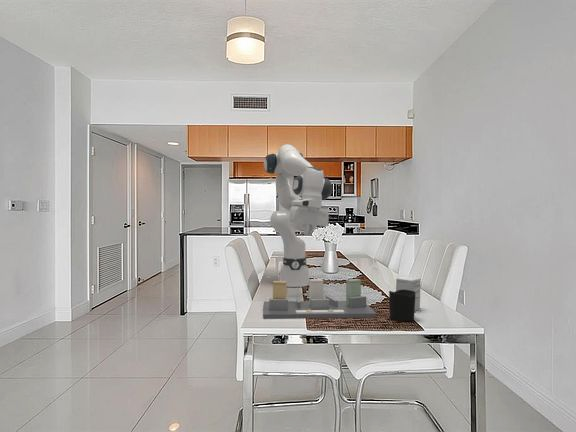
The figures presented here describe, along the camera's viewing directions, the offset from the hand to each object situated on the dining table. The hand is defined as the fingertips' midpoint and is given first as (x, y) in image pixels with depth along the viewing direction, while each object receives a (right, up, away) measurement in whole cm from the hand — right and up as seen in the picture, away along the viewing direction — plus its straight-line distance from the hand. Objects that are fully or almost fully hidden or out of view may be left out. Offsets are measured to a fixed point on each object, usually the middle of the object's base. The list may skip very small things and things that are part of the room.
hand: (307, 235), depth 190 cm
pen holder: (+33, -30, -29) cm, 53 cm away
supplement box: (+40, -29, -15) cm, 51 cm away
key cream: (+3, -27, -16) cm, 31 cm away
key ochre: (-12, -27, -20) cm, 36 cm away
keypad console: (+3, -29, -18) cm, 35 cm away
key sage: (+18, -27, -15) cm, 36 cm away
